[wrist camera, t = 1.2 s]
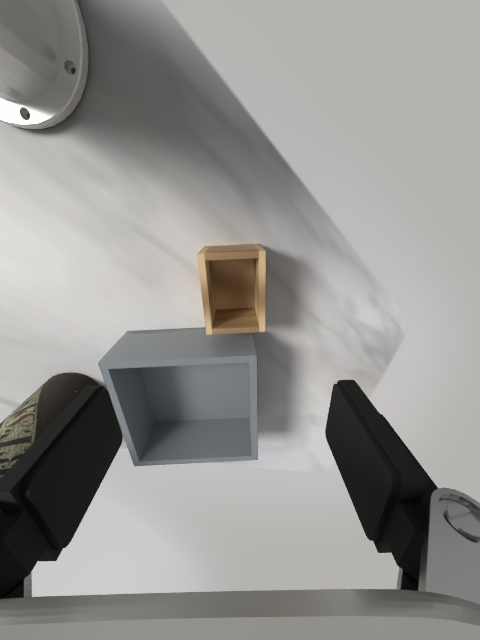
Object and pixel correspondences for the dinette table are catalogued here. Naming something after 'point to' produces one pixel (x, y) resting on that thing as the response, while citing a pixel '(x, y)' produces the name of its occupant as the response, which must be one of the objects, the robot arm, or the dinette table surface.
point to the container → (37, 416)
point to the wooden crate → (233, 288)
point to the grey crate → (184, 395)
